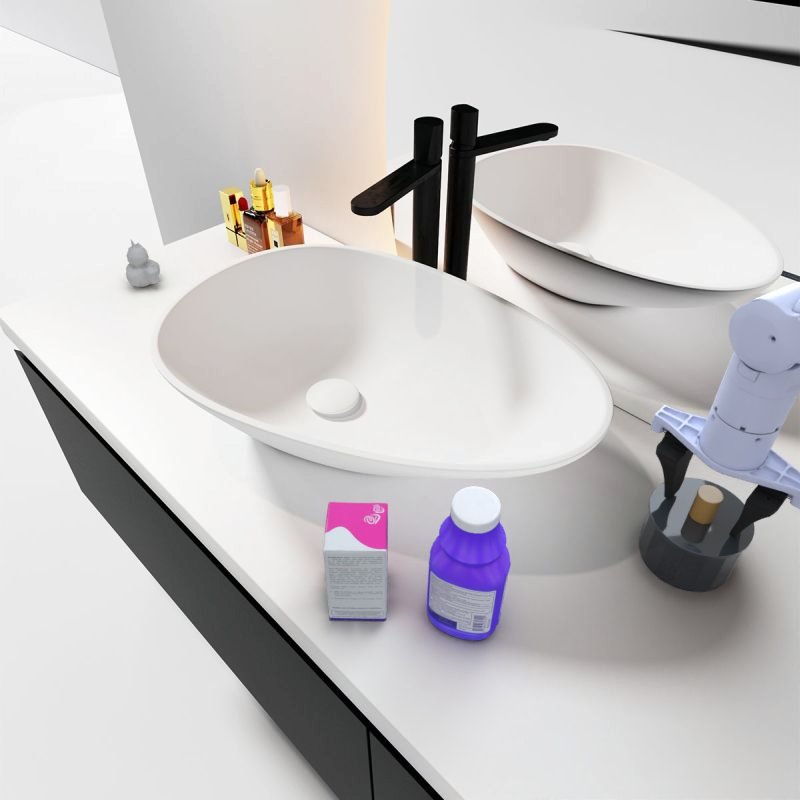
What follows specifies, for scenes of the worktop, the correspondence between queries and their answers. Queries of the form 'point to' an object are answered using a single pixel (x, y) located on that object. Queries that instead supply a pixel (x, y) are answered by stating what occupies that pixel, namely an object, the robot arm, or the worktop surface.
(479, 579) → the bottle
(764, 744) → the worktop surface
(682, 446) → the robot arm
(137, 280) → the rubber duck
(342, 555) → the supplement box
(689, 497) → the lid
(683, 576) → the pot
